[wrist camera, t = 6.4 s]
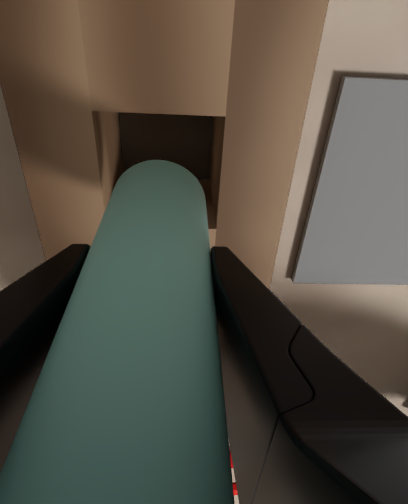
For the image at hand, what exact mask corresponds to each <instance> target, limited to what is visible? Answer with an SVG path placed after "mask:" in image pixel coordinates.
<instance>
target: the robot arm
mask: <svg viewBox="0 0 408 504" xmlns="http://www.w3.org/2000/svg"><path fill="white" fill-rule="evenodd" d="M89 250H90V245H89V244H71V245H70V246H68V247H67V248H65V249H64V250H62V251H60V252H59V253H57V254H56V255H54V256H53V257H51V258H50V259H48V260H47V261H45V262H44V263H42V264H41V265H39V266H38V267H36V268H35V269H33V270H32V271H30V272H29V273H27V274H26V275H24V276H23V277H21V278H19V279H18V280H16V281H15V282H13V283H12V284H10V285H9V286H7V287H6V288H4V289H3V290H1V291H0V473H1V470H2V468H3V465H4V463H5V460H6V458H7V455H8V453H9V450H10V447H11V445H12V442H13V440H14V437H15V435H16V432H17V430H18V427H19V425H20V422H21V420H22V417H23V415H24V412H25V410H26V407H27V405H28V402H29V400H30V397H31V395H32V392H33V390H34V387H35V385H36V382H37V380H38V377H39V375H40V372H41V370H42V367H43V365H44V362H45V360H46V357H47V355H48V352H49V350H50V347H51V345H52V342H53V340H54V337H55V335H56V332H57V330H58V327H59V325H60V322H61V320H62V317H63V315H64V312H65V310H66V307H67V305H68V302H69V300H70V297H71V295H72V292H73V290H74V287H75V285H76V282H77V280H78V277H79V275H80V272H81V270H82V267H83V265H84V262H85V260H86V257H87V255H88V252H89ZM210 254H211V264H212V275H213V285H214V294H215V305H216V315H217V326H218V336H219V347H220V357H221V368H222V378H223V389H224V399H225V410H226V420H227V431H228V438H229V444H230V450H231V456H232V462H233V468H234V474H235V480H236V486H237V492H238V498H239V504H408V416H406V415H405V414H404V413H403V412H401V411H400V410H399V409H398V408H397V407H395V406H394V405H393V404H392V403H391V402H389V401H388V400H387V399H386V398H385V397H384V396H382V395H381V394H380V393H379V392H378V391H376V390H375V389H374V388H373V387H372V386H370V385H369V384H368V383H367V382H366V381H364V380H363V379H362V378H361V377H360V376H359V375H357V374H356V373H355V372H354V371H353V370H351V369H350V368H349V367H348V366H347V365H346V364H345V363H343V362H342V361H341V360H340V359H339V358H338V357H337V356H335V355H334V354H333V353H332V352H331V351H330V350H329V349H328V348H327V347H326V346H325V345H324V344H323V343H322V342H320V341H319V340H318V339H317V338H316V337H315V336H314V335H313V334H312V333H311V332H310V331H309V330H308V329H307V328H306V327H305V325H302V323H301V322H300V321H299V320H298V319H297V317H296V316H295V315H294V314H293V313H292V312H291V311H290V310H289V309H288V308H287V307H286V306H285V305H284V304H283V303H282V302H281V301H280V300H279V299H278V298H277V297H276V296H275V295H274V294H273V293H272V292H271V291H270V290H269V289H268V288H267V287H266V286H265V285H264V284H263V283H262V282H261V281H260V280H259V279H258V278H257V277H256V276H255V274H254V273H253V272H252V271H251V270H250V269H249V268H248V267H247V266H246V265H245V264H244V263H243V262H242V261H241V260H240V259H239V258H238V257H237V256H236V255H235V254H234V253H233V252H232V251H231V250H230V249H229V248H228V247H226V246H213V247H212V248H211V252H210Z"/></svg>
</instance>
